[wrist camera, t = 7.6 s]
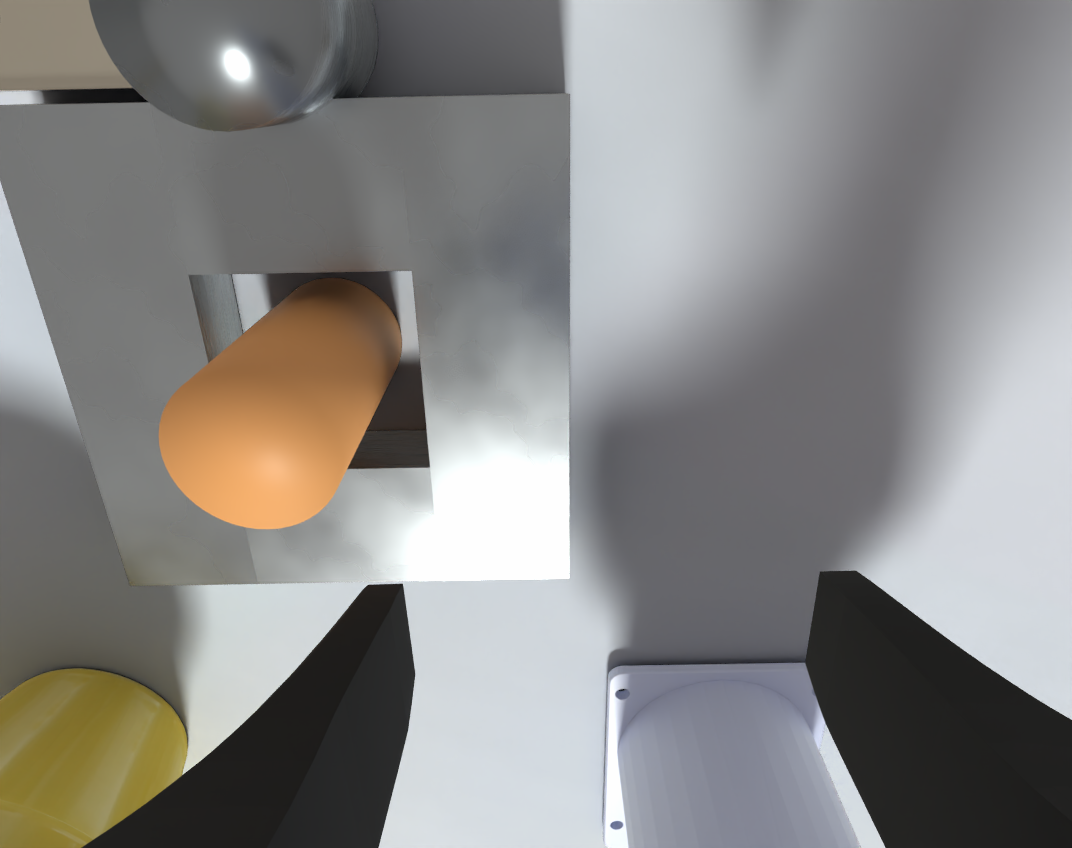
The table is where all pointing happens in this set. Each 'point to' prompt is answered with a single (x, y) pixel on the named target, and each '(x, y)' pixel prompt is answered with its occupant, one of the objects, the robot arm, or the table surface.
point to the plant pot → (82, 756)
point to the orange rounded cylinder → (283, 407)
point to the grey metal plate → (295, 247)
